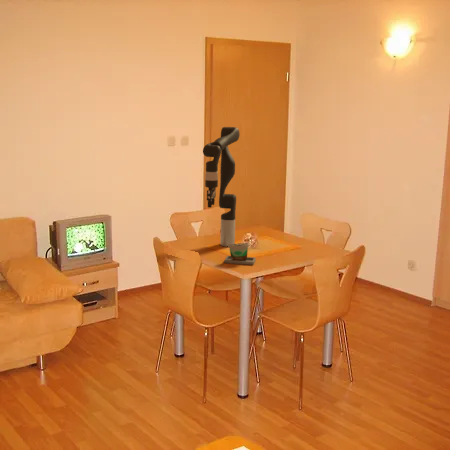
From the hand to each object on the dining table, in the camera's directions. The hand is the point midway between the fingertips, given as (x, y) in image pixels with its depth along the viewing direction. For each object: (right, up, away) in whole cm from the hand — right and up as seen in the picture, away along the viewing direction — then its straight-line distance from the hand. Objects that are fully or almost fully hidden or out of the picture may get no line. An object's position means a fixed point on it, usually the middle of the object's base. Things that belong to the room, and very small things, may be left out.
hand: (211, 206), depth 367 cm
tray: (+17, -33, -8) cm, 38 cm away
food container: (+17, -32, -8) cm, 37 cm away
